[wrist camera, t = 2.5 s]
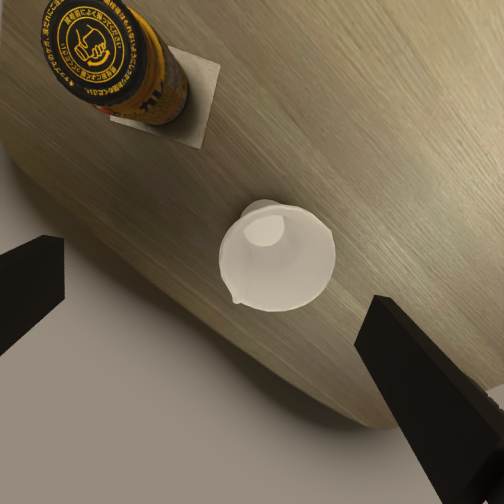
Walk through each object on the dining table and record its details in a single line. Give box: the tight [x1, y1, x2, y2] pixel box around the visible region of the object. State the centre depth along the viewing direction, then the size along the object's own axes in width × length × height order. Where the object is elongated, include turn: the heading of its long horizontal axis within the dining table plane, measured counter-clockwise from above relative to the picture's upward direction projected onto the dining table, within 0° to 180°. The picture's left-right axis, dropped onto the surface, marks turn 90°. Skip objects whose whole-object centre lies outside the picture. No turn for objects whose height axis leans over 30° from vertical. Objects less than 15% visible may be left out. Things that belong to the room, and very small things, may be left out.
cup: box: [219, 199, 335, 311], centre depth 26 cm, size 9×9×10 cm
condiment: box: [41, 0, 221, 149], centre depth 20 cm, size 7×8×12 cm
